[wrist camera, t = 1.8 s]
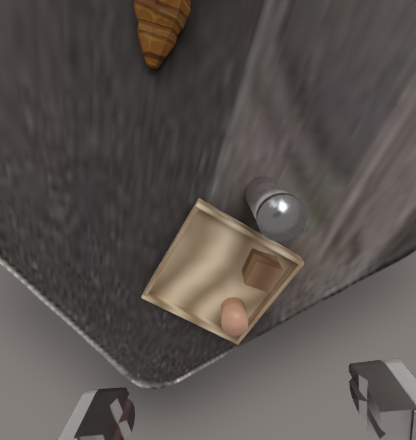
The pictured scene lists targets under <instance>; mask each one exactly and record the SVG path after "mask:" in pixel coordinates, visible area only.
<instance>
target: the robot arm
mask: <svg viewBox="0 0 416 440" xmlns="http://www.w3.org/2000/svg"><path fill="white" fill-rule="evenodd" d="M349 372H350V374H351V376H352V379H351V380H350V381H349V385H350V392H351V396H352V399H353V401H354V404H355V406H356V408H357V410H358V412H359V414H360V415H362V416H363V417H364V418H365V419H366V420H367V430H368V432H369V434H370V436H371V438H372V440H416V379H415V378H414V377H413V376H412V374H411V373H410V372H409V371H408V370H407V368H406V367H405V366H404V365H403V363H402V362H401V361H400V360H398V359H389V360H381V361H380V360H376V361H367V362H360V363H351V364H350V365H349ZM128 395H129V392H128V390H127V388H126V387H123V388H111V389H96V390H87V391H86V392H85V393H84V394H83V395H82V397H81V399H80V401H79V403H78V404H77V406H76V408H75V410H74V412H73V414H72V416H71V418H70V419H69V421H68V423H67V425H66V427H65V429H64V430H63V432H62V435H61V436H60V438H59V439H58V440H126V439H127V437H128V436H129V435H130V434H131V433H132V430H133V426H134V421H135V407H134V404H133V402H132V401H130V400H129V399H128Z"/></svg>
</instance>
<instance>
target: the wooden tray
mask: <svg viewBox="0 0 416 440" xmlns="http://www.w3.org/2000/svg"><path fill="white" fill-rule="evenodd" d="M252 248H253V249H256V250H259V251H262V252H265V253H267V254H270V255H273V256H276V257H277V259H278V261H279V263H280V265H281V267H282V269H283V272H282V274H281V276H280V278H279V279H278V281H277V283H276V285H275V287H274V289H273V290H272V292H271V293H268V292H265V291H262V290H259V289H256V288H253V287H250V286H247V285H245V284H244V279H243V274H242V268H243V266H244V264H245V262H246V260H247V258H248V256H249V254H250V252H251V249H252ZM304 264H305V263H304V262H303V260H302V259H301V257H300V256H299V255H298V254H296V253H294V252H292V251H291V250H289V249H287V248H285V247H284V246H282V245H280V244H278V243H277V242H275V241H273V240H270V239H268V238H266V237H265V236H264V235H263V234H261V233H259V232H257V231H256V230H254V229H252V228H250V227H249V226H247V225H245V224H243V223H242V222H240V221H238V220H236V219H235V218H233V217H231V216H229V215H228V214H226V213H224V212H222V211H221V210H219V209H217V208H215V207H214V206H212V205H210V204H208V203H207V202H205V201H203V200H201V199H200V198H198V200H197V202H196V203H195V205H194V207H193V208H192V210H191V212H190V213H189V215H188V217H187V218H186V220H185V222H184V224H183V225H182V227H181V229H180V230H179V232H178V234H177V235H176V237H175V239H174V241H173V242H172V244H171V246H170V247H169V249H168V251H167V252H166V254H165V256H164V257H163V259H162V261H161V263H160V264H159V266H158V268H157V269H156V271H155V273H154V274H153V276H152V278H151V279H150V281H149V283H148V285H147V286H146V288H145V290H144V292H143V295H142V297H141V298H143V299H145V300H147V301H149V302H151V303H153V304H155V305H157V306H159V307H161V308H163V309H165V310H167V311H169V312H171V313H173V314H176V315H178V316H180V317H182V318H184V319H186V320H188V321H190V322H192V323H194V324H196V325H198V326H200V327H202V328H204V329H206V330H209V331H211V332H213V333H215V334H217V335H219V336H221V337H223V338H225V339H227V340H229V341H231V342H233V343H235V344H237V345H238V344H239V343H240V342H241V340H242V339H243V338H244V337H245V336H246V334H247V333H248V332H249V331H250V329H251V328H252V327H253V326H254V325H255V323H256V322H257V321H258V320H259V318H260V317H261V316H262V315H263V314H264V312H265V311H266V310H267V309H268V307H269V306H270V305H271V304H272V303H273V301H274V300H275V299H276V298H277V296H278V295H279V294H280V293H281V292H282V290H283V289H284V288H285V287H286V286H287V284H288V283H289V282H290V281H291V279H292V278H293V277H294V276H295V275H296V273H297V272H298V271H299V270H300V268H301V267H302V266H303V265H304ZM231 297H236V298H239V299H241V300H242V301H243V302H244V304H245V308H246V314H247V320H248V329H247V330H246V331H245V332H244V333H243V334H241V335H238V336H232V335H229V334H227V333H225V332H224V331H223V329H222V323H221V304H222V303H223V301H224V300H226V299H227V298H231Z"/></svg>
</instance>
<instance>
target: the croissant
mask: <svg viewBox="0 0 416 440" xmlns="http://www.w3.org/2000/svg"><path fill="white" fill-rule="evenodd" d="M134 9H135V14H136V18H137V21H138V28H137V34H138V38H139V42H140V46H141V50H142V53H143V56H144V59H145V62H146V65H148V66H149V67H151V68H159V67H160V65H161V64H162V62H163V61H164V59H165V58H166V56H167V55H168V54H169V52H170V51H171V50H172V48H173V47H174V45H175V44H176V40H177V36H178V34H179V33H180V32H181V30H182V29H183V28H184V26H185V23H186V21H187V18H188V16H189V13H190V11H191V0H134Z"/></svg>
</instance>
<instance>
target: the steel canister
mask: <svg viewBox="0 0 416 440" xmlns="http://www.w3.org/2000/svg"><path fill="white" fill-rule="evenodd" d="M245 198H246V200H247V202H248V205H249V207H250V209H251V211H252V213H253V215H254V217H255V219H256V222H257V225H258V227H259V230H260V231H261V233H262V234H263V235H264V236H265V237H266V238H268V239H270V240H273V241H277V242H283V241H288V240H291V239H293V238H295V237H296V236H298V235H299V234H300V233H301V232H302V230H303V229H304V227H305V225H306V222H307V210H306V208H305V206H304V204H303V203H302V202H301V201H300V200H299V199H298V198H296V197H295V196H293V195H291V194H290V193H288V192H287V191H286V190H285V189H283V188H282V187H281V186H280V185H278V184H277V183H276V182H275V181H273V180H272V179H270V178H268V177H258V178H255V179H253V180H252V181H251V182H250V183H249V184H248V185H247V187H246V190H245Z"/></svg>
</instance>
